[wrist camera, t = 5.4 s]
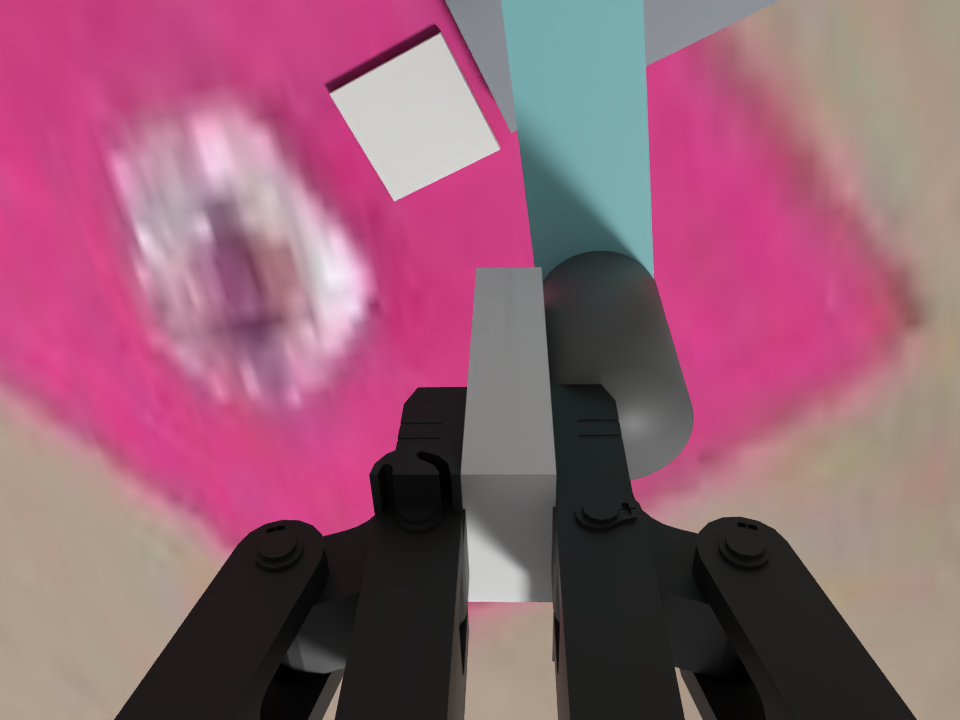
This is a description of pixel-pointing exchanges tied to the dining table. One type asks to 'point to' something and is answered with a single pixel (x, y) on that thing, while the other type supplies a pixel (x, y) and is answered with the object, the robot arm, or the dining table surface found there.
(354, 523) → the dining table surface
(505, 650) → the dining table surface
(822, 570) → the dining table surface
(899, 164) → the dining table surface
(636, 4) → the crank handle
